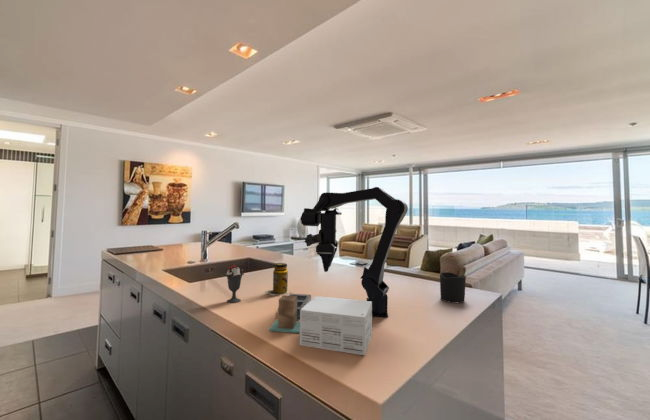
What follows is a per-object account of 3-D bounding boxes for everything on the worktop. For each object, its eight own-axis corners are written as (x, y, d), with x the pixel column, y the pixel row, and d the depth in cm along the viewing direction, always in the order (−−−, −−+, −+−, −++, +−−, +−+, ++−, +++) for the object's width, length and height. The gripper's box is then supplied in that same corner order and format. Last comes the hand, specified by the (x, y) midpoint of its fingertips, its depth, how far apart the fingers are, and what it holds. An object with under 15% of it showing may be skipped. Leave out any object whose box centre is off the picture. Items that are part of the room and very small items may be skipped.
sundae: (220, 302, 102) (221, 261, 102) (232, 297, 108) (233, 259, 108) (234, 304, 99) (235, 263, 99) (246, 299, 105) (247, 260, 106)
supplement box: (372, 334, 77) (372, 300, 78) (365, 357, 65) (365, 317, 65) (315, 326, 82) (316, 294, 83) (298, 345, 70) (299, 308, 70)
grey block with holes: (311, 302, 103) (311, 294, 103) (302, 318, 87) (302, 309, 87) (290, 301, 104) (290, 293, 104) (278, 317, 88) (278, 307, 88)
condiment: (291, 293, 115) (291, 264, 115) (272, 296, 111) (272, 266, 111) (283, 289, 121) (284, 261, 121) (265, 291, 117) (265, 263, 117)
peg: (296, 322, 83) (297, 296, 83) (293, 328, 78) (293, 300, 78) (282, 321, 83) (283, 295, 83) (278, 327, 79) (278, 299, 79)
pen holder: (461, 297, 114) (461, 273, 114) (468, 304, 105) (469, 278, 105) (437, 295, 116) (437, 271, 116) (442, 302, 107) (443, 276, 107)
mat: (305, 323, 84) (305, 321, 84) (300, 333, 77) (300, 331, 77) (276, 321, 85) (276, 319, 85) (268, 330, 78) (269, 329, 78)
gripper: (311, 225, 112) (310, 263, 112) (301, 227, 94) (300, 273, 93) (338, 226, 111) (337, 265, 110) (334, 228, 92) (333, 275, 92)
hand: (327, 269), depth 102 cm, fingers open, 9 cm apart
